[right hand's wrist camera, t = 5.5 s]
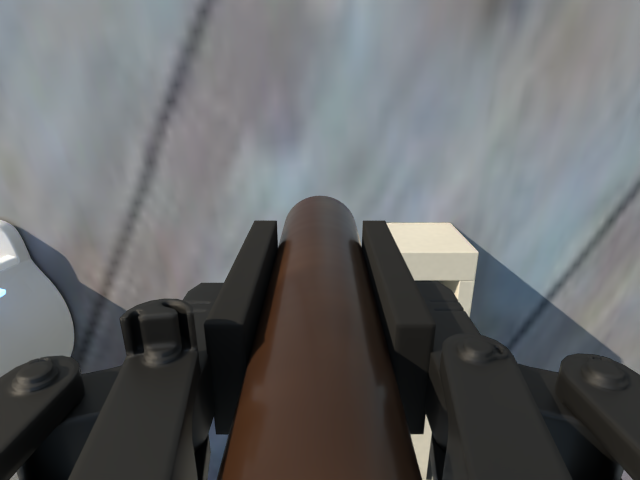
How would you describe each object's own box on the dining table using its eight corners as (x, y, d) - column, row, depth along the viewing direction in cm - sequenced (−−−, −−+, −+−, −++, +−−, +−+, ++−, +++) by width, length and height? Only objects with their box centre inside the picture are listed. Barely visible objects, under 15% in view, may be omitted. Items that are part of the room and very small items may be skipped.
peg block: (450, 222, 31) (479, 252, 26) (423, 459, 40) (440, 520, 34) (372, 222, 31) (383, 252, 26) (361, 459, 40) (368, 520, 34)
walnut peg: (357, 195, 17) (498, 606, 3) (354, 263, 18) (456, 779, 4) (282, 195, 17) (138, 606, 3) (285, 263, 18) (181, 779, 4)
